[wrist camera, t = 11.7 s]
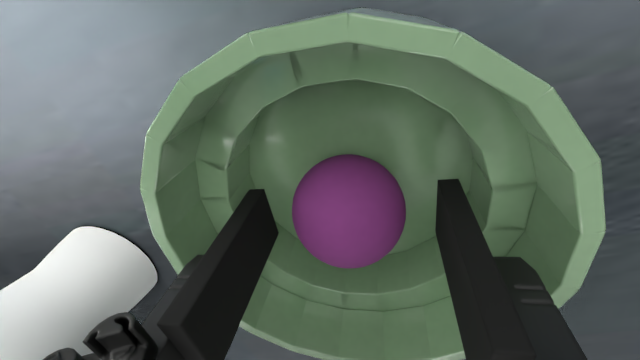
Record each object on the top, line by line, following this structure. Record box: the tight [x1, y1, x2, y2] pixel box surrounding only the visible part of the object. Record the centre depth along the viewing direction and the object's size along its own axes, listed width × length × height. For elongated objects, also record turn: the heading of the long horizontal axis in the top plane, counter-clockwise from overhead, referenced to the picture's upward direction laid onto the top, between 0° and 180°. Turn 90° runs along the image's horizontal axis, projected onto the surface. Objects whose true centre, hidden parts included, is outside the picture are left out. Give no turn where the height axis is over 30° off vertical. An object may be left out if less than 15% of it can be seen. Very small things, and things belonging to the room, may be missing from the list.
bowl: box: [140, 7, 606, 360], centre depth 13 cm, size 15×15×6 cm
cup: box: [0, 226, 157, 360], centre depth 17 cm, size 11×11×15 cm
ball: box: [292, 154, 406, 269], centre depth 13 cm, size 5×5×5 cm
